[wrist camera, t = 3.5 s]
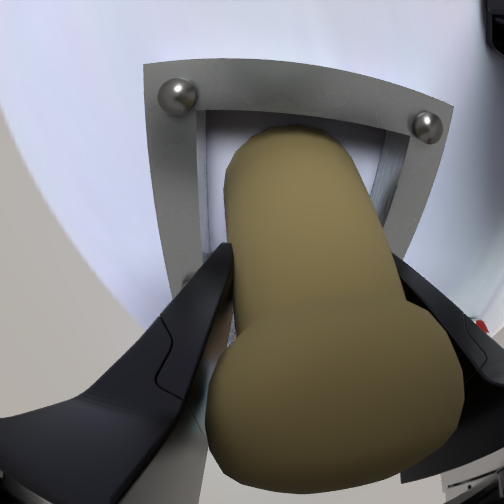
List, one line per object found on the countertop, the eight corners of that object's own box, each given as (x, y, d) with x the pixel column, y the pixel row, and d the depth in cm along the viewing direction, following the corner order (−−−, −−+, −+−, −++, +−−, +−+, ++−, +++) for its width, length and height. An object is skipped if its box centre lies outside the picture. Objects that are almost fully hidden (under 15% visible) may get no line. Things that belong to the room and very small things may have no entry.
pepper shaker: (362, 229, 13) (443, 455, 4) (248, 257, 14) (242, 493, 6) (346, 111, 9) (577, 370, 1) (202, 148, 11) (84, 468, 2)
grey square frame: (427, 96, 8) (459, 109, 7) (368, 282, 15) (380, 313, 14) (162, 63, 8) (138, 64, 6) (180, 275, 15) (171, 308, 13)
